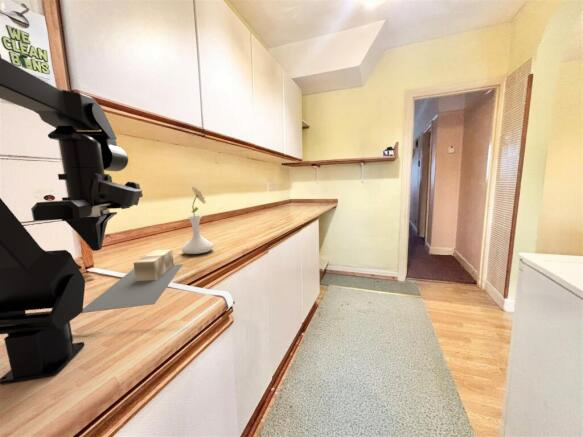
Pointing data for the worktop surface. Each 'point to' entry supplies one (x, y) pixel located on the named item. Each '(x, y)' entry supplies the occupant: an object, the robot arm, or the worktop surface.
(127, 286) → the rubber mat
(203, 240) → the flower in vase
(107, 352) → the worktop surface
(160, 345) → the worktop surface
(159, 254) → the birch block
